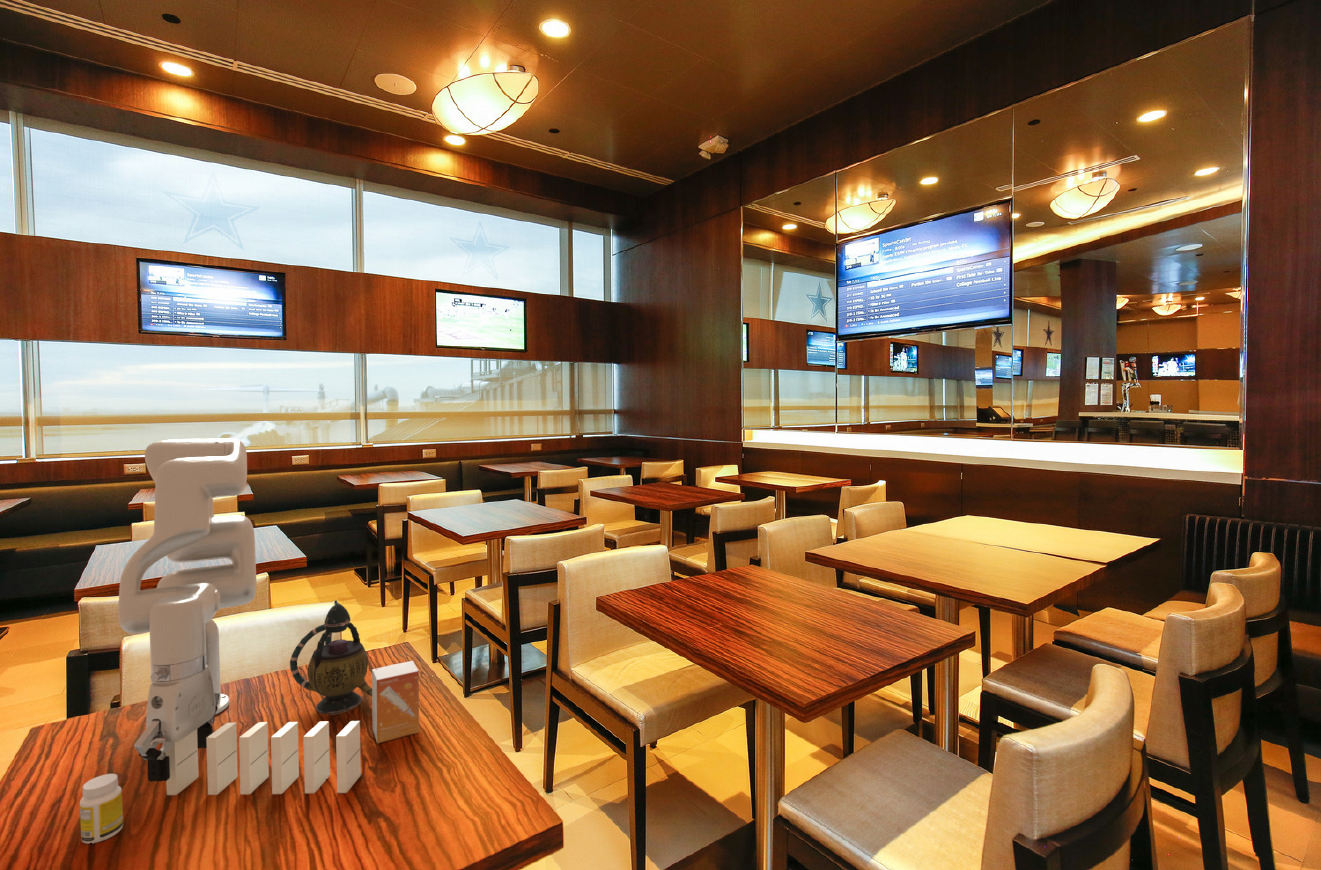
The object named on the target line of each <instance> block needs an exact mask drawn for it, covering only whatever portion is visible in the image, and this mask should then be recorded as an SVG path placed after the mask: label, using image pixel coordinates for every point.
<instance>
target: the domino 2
mask: <svg viewBox="0 0 1321 870" xmlns="http://www.w3.org/2000/svg"><path fill="white" fill-rule="evenodd" d="M237 732H238V731H237V722H236V721H235V722H226V723H224V724H222V726H220V727H219V728H217V730H215V731H213V733H212V734H211V735H209V736H208V737H207V738H206V741H207V748H206V769H207V771H206V772H207V777H206V778H207V795H208V796H212V795H213V796H218V795H219V794H220V793H221V792H222V791H223V790H225V789H226V788H227V787H228V786H229V785H230V784H231V783H232V782H234V781H235V780H236V779H237V778H238V776H239V775H238V771H239V770H238V739H237V738H238V737H237Z"/></svg>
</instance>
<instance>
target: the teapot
mask: <svg viewBox="0 0 1321 870" xmlns="http://www.w3.org/2000/svg"><path fill="white" fill-rule="evenodd" d="M333 602H334V604H333V606H331V607H330V609H329V610H328V612H327V614H326V616H325V619H324V623H323V624H321V625H318V626H317V627H315V628H313V629H311V631H309V632H308V633H307V634H306V635H304V636H303V637H302V638H301V639H300V641H299V642H298V643H297V645H296V647H295V648H294V650H293V652H292V654H291V656H290V661H289V666H290V667H289V668H290V671H291V675H292V677H293V679H294V681H296V683H297V684H299V685H300V686H302V687H303V688H305V689H306V690H307V691H311V692H316V693H317V694H319V695H320V696H322V697H323V698H322V699H321V700H320V701H318V703H317V704H316V707H315V711H316V710H317V711H316V713H318V712H319V713H318V714H320V713H321V714H320V715H325V714H327V715H326V716H329V715H328V714H330V716H331V715H337V714H343V713H345V712H346V713H347V712H349V711H351V710H353V709H355V708H356V707H358V706H359V705H360V704H361V703H362V700H363V699H362V696H361V694H359V693H357V692H355V690H356V689H357V688H359V689H360V690H361V691H363V692H364V693H365V694H366V695H369V696H370V697H371V698H372V686H370V685H369V684H368V683H367V682H366V679H365V677H366V675H367V673H368V669H369V668H368V667H369V666H368V665H369V658H368V657H369V656H368V654H367V650H366V649H365V646H364V645H363V643H362V642H361V638H360V634H359V631H358V629H357V627H356V626H355V625H354V624H353V623H352V622H351V615H350V613H349V611H348V610H347V608H346V607H344V605H343V604H341V603H339V602H338V600H333ZM347 629H349V630H350V633H351V637H352V640H347V639H336V640H332V639H333V638H332V636H333V634H335V633H338V634H339V633H342V632H345V631H346V630H347ZM321 632H323V633H322V635H321V637H320V639H319V641H318V642H317V646H316V649H315V650H314V651H313V653H312V655H311V657H310V660H309V663H308V666H307V675H306V676H307V679H305V678H304V677H303V676H302V674H301V673H300V669H299V667H298V659H299V656H300V654H301V652H302V651H303V649H304V647H305V645H306V644H307V643H308V642H310V640H311V639H312V638H313V637H314V636H316V635H317V634H319V633H321Z"/></svg>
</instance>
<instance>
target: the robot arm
mask: <svg viewBox="0 0 1321 870" xmlns="http://www.w3.org/2000/svg"><path fill="white" fill-rule="evenodd" d="M247 454H248V453H247V449H246V446H245V444H244V443H243V442H242V441H241V440H239V439H236V438H178V439H174V438H173V439H165V440H158V441H156V442H155V441H154V442H152V443H151V444H149V445H148V446H146V449H145V451H144V460H145V465H146V468H147V471H148V472H149V474H150V477H151V478H152V480H153V482H154V484H155V487H154V488H155V489H154V491H155V492H154V519H153V522H154V524H153V526H154V527H153V534H152V536H150V538H149V539H147V541H145V542H144V543H143V544H142V545H141V546H139V548H137V550H136V551H135V552H134V553H133V555H131V557H130V558H129V559H128V560H127V562H126V564H125V566H124V569H123V570H122V573H121V575H120V580H119V589H118V607H117V608H118V609H117V613H118V614H117V617H118V624H119V626H120V628H121V629H122V631H124V632H125V633H127V634H133V635H134V634H145V633H149V650H150V651H149V654H150V677H149V678H150V682H151V684H150V686H149V691H148V695H147V696H148V697H147V706H146V717H145V718H146V723H145V726H146V727H145V728H146V729H145V730H144V731H143V733H142V734H141V735H140V736H139V738H138V739H137V740H136V742H135V743H134V748H135V750H136V751H137V752H138V756H139V757H141V758H143V760H144V761H147V765H146V766H147V781H148V782H166V781H167V780H168V779H169V778H170V760H169V756H166V754H167V752H168V750H169V747H170V745H171V743H172V742H177V741H179V740H181V739H183V738H184V737H186V736H187V735H189V734H190V733H192V732H193V731H194V730H196V729H197V743H198V749H207V741H206V738H207V737H208V736H209V735H211V734H212V733H214V731H213V724H214V723H215V722H216V719H215V716H216V715H219V714H220V713H221V712H223V711H224V710H226V709H227V707H229V705H230V697H229V696H228V695H227V694H225V693H221V667H220V665H221V663H220V661H221V660H220V631H219V627H218V624H217V623H216V622H215V620H213V617H215V615H216V614H217V612H218V611H219V610H220V609H227V608H233V607H234V608H235V607H238V606H244V605H247V604H249V603H250V602H253V600H255V599H254V598H255V597H256V593H257V564H256V563H257V561H256V558H257V557H256V540H255V539H256V538H255V531H254V525H253V524H252V523H253V522H252V521H251V520H250V519H249V518H248V517H247V516H245V515H244V516H243V515H238V514H237V515H222V516H215V515H214V514H215V513H214V498H222V497H223V498H224V497H237V496H240V495H241V494H242V493H243V492H244V490H245V488H246V486H247V479H248V455H247ZM165 557H167V558H168V560H169V561H171V562H174V563H184V564H185V563H195V562H196V563H197V562H203V561H204V562H205V561H214V560H224V559H227V560H230V561H231V562H232V563H230V564H220V565H212V566H210V565H209V566H202V567H201V566H199V567H192V568H191V567H190V568H184V569H179V570H176V571H173V572H169V573H167V574H165V575H164V576H163V577H161V579H160V580H159V581H158V583H157V585H156V588H149V589H142V590H141V586H142V585H141V583H142V579H143V577H144V575H145V573H146V572H147V570H149V569H150V568H151V567H152V566H153V565H155V564H156V563H157V562H159V561H160V560H161V559H164V558H165ZM159 744H162V745H161V747H160V749H157V748H158V747H157V746H158V745H159Z"/></svg>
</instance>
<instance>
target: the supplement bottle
mask: <svg viewBox="0 0 1321 870" xmlns="http://www.w3.org/2000/svg"><path fill="white" fill-rule="evenodd" d="M122 792H123V791H122V787H121V786H120V785H119V776H118V775H117V774H116V773H106V774H102V775H99V776H96V777H93V778H92V779H90V780H88V781H86V782H85V783H84V784H83V786H82V798H81V799H80V800H79V818H80V819H79V821H80V837H81V838H80V840H81V842H82V843H83V844H89V845H90V843H92V844H96V843H100V842H102V841H103V842H104V841H106V840H109V839H110V838H112V837H114V836H116V834H118V833H119V832H120V831H121V830H122V829H123V826H124V815H123V813H124V811H123V793H122Z"/></svg>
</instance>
